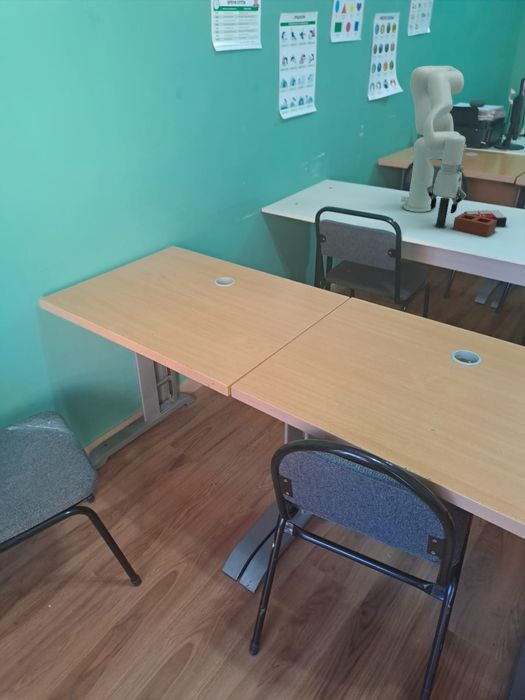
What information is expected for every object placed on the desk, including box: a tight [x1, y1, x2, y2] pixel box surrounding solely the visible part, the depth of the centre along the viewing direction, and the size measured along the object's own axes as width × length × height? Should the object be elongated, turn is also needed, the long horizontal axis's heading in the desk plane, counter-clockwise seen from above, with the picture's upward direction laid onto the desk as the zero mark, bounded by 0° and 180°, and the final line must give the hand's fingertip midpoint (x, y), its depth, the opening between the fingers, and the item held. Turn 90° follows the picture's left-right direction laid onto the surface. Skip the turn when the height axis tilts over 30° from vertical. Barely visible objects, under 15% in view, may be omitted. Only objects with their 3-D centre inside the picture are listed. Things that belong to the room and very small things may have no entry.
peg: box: [435, 196, 451, 229], centre depth 217 cm, size 4×4×12 cm
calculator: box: [463, 209, 508, 228], centre depth 223 cm, size 11×4×15 cm
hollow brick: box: [452, 212, 497, 238], centre depth 214 cm, size 15×8×5 cm, turn 48°
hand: (442, 210), depth 217 cm, fingers open, 8 cm apart
